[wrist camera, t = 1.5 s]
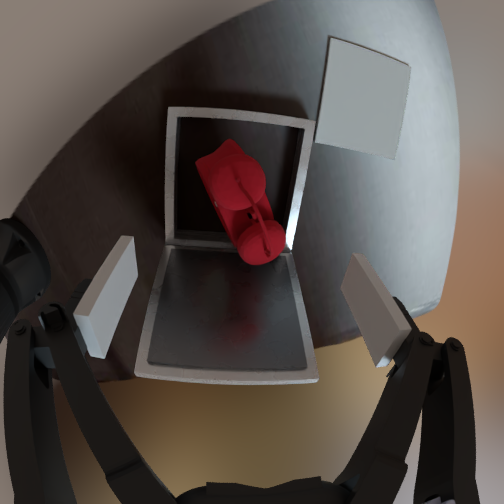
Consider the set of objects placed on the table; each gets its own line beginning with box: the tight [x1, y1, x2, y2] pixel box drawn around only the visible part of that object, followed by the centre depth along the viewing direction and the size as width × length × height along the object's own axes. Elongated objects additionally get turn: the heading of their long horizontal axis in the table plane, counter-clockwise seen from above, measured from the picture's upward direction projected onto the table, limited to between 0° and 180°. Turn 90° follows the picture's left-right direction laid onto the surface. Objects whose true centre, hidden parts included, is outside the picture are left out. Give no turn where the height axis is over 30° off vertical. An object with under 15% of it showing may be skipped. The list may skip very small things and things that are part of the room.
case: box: [165, 106, 316, 253], centre depth 30 cm, size 15×16×3 cm
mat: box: [314, 38, 411, 160], centre depth 27 cm, size 11×13×1 cm
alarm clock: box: [195, 139, 286, 265], centre depth 25 cm, size 10×6×15 cm, turn 20°
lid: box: [134, 245, 319, 385], centre depth 26 cm, size 15×16×1 cm
